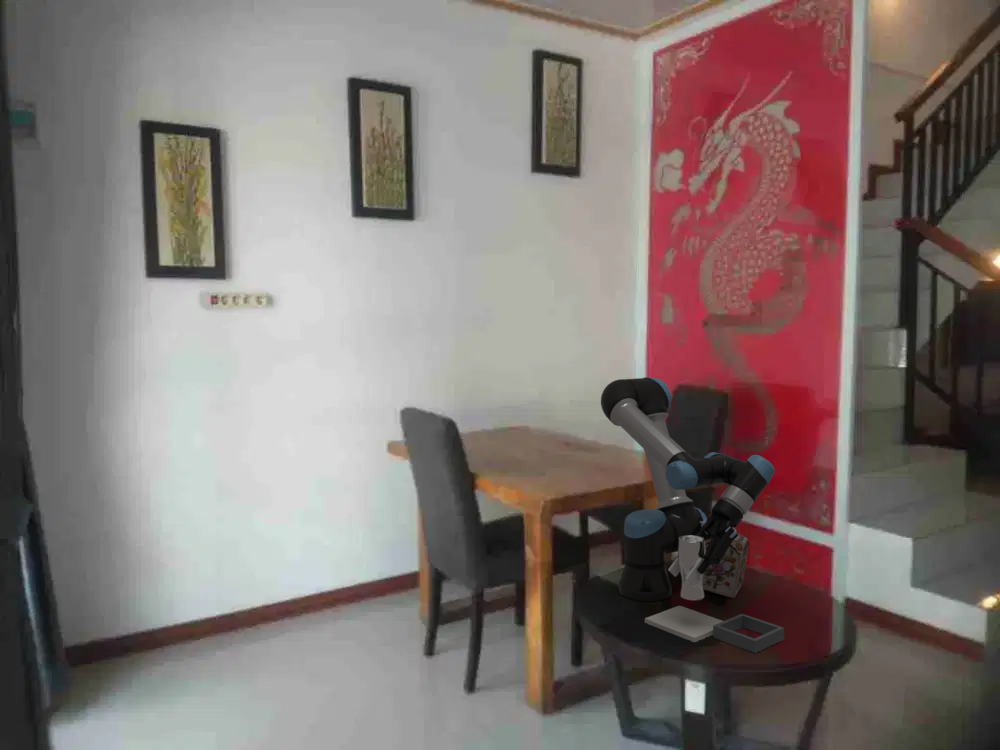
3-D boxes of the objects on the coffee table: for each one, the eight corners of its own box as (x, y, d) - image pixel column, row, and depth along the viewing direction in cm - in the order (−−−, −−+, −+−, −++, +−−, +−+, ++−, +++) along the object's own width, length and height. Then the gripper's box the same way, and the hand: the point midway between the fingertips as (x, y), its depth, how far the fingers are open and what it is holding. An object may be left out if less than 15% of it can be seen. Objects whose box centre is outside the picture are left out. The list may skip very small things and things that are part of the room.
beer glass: (707, 601, 187) (707, 542, 186) (679, 600, 188) (678, 542, 187) (704, 592, 194) (704, 535, 193) (677, 591, 195) (676, 534, 194)
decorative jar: (742, 586, 220) (752, 528, 218) (735, 599, 210) (745, 538, 208) (702, 575, 226) (711, 518, 223) (693, 587, 216) (702, 527, 213)
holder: (713, 637, 185) (713, 625, 185) (742, 625, 192) (742, 613, 192) (755, 653, 176) (755, 641, 175) (784, 639, 183) (784, 627, 183)
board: (644, 622, 195) (644, 618, 195) (679, 609, 203) (679, 605, 203) (694, 642, 182) (694, 637, 182) (729, 627, 191) (729, 623, 191)
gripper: (766, 524, 186) (713, 598, 181) (715, 508, 204) (666, 575, 199) (749, 506, 184) (695, 580, 179) (699, 491, 202) (649, 558, 197)
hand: (680, 577), depth 189 cm, fingers closed on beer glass, 7 cm apart
